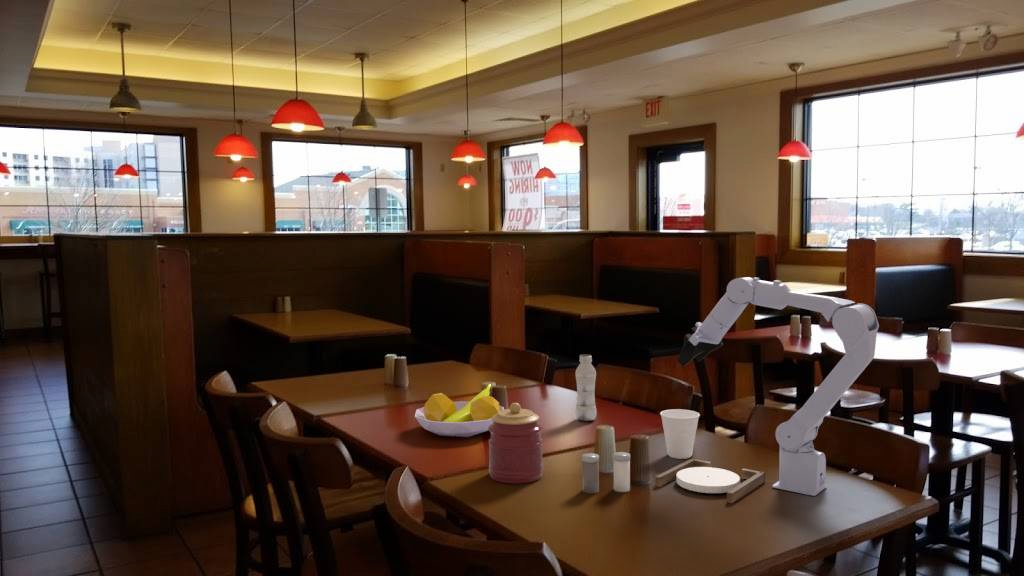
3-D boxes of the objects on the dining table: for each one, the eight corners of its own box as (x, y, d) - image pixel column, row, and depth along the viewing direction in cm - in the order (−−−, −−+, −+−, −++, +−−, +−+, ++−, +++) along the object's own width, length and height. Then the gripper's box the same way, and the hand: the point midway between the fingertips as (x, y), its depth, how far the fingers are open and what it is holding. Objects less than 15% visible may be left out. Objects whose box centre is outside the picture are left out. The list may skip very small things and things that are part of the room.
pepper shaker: (602, 490, 175) (602, 455, 175) (593, 494, 172) (592, 459, 172) (588, 486, 178) (588, 452, 177) (578, 491, 175) (578, 456, 174)
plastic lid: (736, 500, 168) (736, 489, 168) (671, 493, 173) (671, 482, 173) (742, 481, 181) (742, 470, 181) (681, 474, 186) (681, 464, 186)
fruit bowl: (450, 449, 210) (450, 407, 209) (397, 430, 230) (396, 392, 230) (530, 431, 227) (529, 392, 226) (474, 414, 248) (473, 379, 247)
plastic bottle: (596, 417, 241) (596, 353, 240) (596, 423, 235) (596, 357, 233) (575, 417, 242) (575, 353, 241) (575, 423, 235) (574, 357, 234)
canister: (481, 471, 190) (480, 399, 189) (531, 465, 195) (530, 395, 193) (499, 487, 178) (498, 411, 177) (552, 480, 182) (551, 406, 181)
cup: (671, 463, 194) (671, 419, 194) (653, 452, 204) (653, 410, 203) (706, 459, 197) (707, 416, 196) (687, 448, 207) (688, 407, 206)
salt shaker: (633, 488, 176) (633, 454, 175) (624, 493, 173) (624, 458, 172) (619, 485, 178) (619, 451, 178) (610, 489, 175) (609, 454, 175)
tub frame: (765, 482, 179) (765, 472, 179) (732, 503, 166) (732, 493, 166) (691, 467, 191) (691, 458, 191) (655, 486, 178) (655, 476, 177)
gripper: (721, 305, 192) (690, 346, 198) (694, 311, 181) (662, 353, 187) (743, 324, 189) (711, 365, 195) (716, 331, 178) (683, 374, 184)
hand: (688, 361), depth 191 cm, fingers open, 7 cm apart
